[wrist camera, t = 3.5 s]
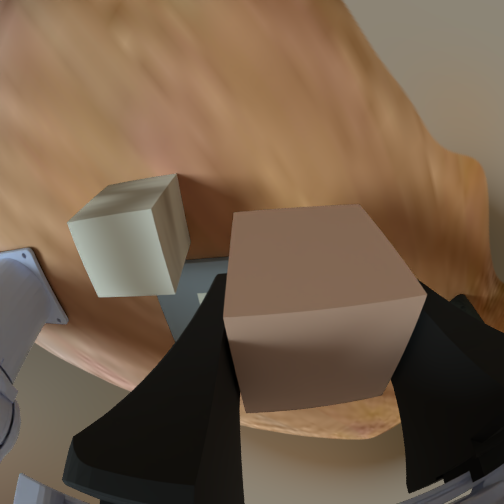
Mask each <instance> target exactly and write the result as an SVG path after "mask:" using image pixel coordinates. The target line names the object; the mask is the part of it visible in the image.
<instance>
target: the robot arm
mask: <svg viewBox="0 0 504 504" xmlns="http://www.w3.org/2000/svg"><path fill="white" fill-rule="evenodd" d="M417 280H418V279H417ZM226 281H227V273H222V274H217V275H216V276H215V278H214V280H213V282H212V284H211V286H210V288H209V290H208V292H207V294H206V296H205V297H204V299H203V301H202V303H201V304H200V306H199V308H198V309H197V311H196V313H195V314H194V316H193V317H192V319H191V321H190V322H189V324H188V325H187V327H186V328H185V329H184V331H183V332H182V334H181V335H180V337H179V338H178V340H177V341H176V342H175V344H174V345H173V346H172V348H171V349H170V350H169V351H168V353H167V354H166V355H165V356H164V357H163V359H162V360H161V361H160V362H159V363H158V365H157V366H156V367H155V368H154V369H153V370H152V371H151V372H150V373H149V374H148V375H147V377H146V378H145V379H144V380H143V381H142V382H141V383H140V384H139V385H138V386H137V387H136V388H135V389H134V390H133V391H132V392H130V393H129V394H128V395H127V396H126V397H125V398H124V399H123V400H121V401H120V402H119V403H118V404H117V405H116V406H115V407H113V408H112V409H111V410H110V411H109V412H108V413H106V414H105V415H104V416H102V417H101V418H99V419H98V420H97V421H95V422H94V423H92V424H91V425H90V426H88V427H87V428H85V429H84V430H82V431H81V432H80V433H78V434H76V435H75V436H73V439H72V442H71V445H70V448H69V451H68V456H67V460H66V464H65V469H64V473H63V478H62V480H63V482H64V483H65V484H66V485H67V486H69V487H72V488H74V489H76V490H78V491H80V492H83V493H85V494H88V495H90V496H93V497H95V498H98V499H100V504H244V493H243V492H244V491H243V478H242V463H241V443H240V413H239V408H240V388H239V384H238V380H237V376H236V371H235V367H234V363H233V359H232V355H231V350H230V346H229V342H228V337H227V333H226V328H225V324H224V319H223V313H224V302H225V291H226ZM418 282H419V283H420V284H421V286H422V287H423V289H424V290H425V292H426V293H427V297H426V299H425V302H424V305H423V308H422V310H421V313H420V315H419V318H418V320H417V323H416V325H415V328H414V330H413V332H412V335H411V337H410V339H409V342H408V344H407V346H406V348H405V351H404V353H403V355H402V357H401V359H400V361H399V363H398V365H397V367H396V369H395V371H394V373H393V375H392V377H391V381H392V384H393V388H394V391H395V395H396V400H397V404H398V408H399V413H400V418H401V424H402V430H403V437H404V444H405V455H406V475H407V476H406V484H407V489H408V493H412V492H415V491H417V490H420V489H422V488H424V487H427V486H429V485H431V484H433V483H436V482H438V481H440V480H442V479H444V483H445V484H443V485H441V486H439V487H437V488H435V489H432V490H430V491H428V492H426V493H423V494H421V495H418V496H416V497H414V498H411V499H408V500H406V501H403V502H400V503H398V504H444V503H446V502H448V501H450V500H452V499H453V498H455V497H457V496H459V495H461V494H463V493H464V492H466V491H468V490H469V489H471V488H472V491H471V493H470V494H469V495H467V496H464V497H462V498H460V499H458V500H455V501H454V502H451V503H449V504H504V333H503V332H501V331H498V330H496V329H494V328H492V327H490V326H488V325H487V324H485V323H483V322H481V321H479V320H477V319H476V318H474V317H472V316H471V315H469V314H467V313H466V312H464V311H462V310H461V309H459V308H458V307H456V306H455V305H453V304H452V303H450V302H449V301H447V300H446V299H444V298H443V297H441V296H440V295H439V294H437V293H436V292H434V291H433V290H432V289H430V288H429V287H427V286H426V285H425V284H423V283H422V282H421V281H419V280H418ZM68 321H69V320H68V317H67V316H66V314H65V312H64V311H63V309H62V307H61V305H60V304H59V302H58V300H57V298H56V296H55V295H54V293H53V291H52V289H51V287H50V285H49V283H48V281H47V279H46V277H45V275H44V273H43V271H42V269H41V267H40V265H39V263H38V261H37V259H36V257H35V254H34V252H33V250H32V249H30V248H22V249H16V250H10V251H4V252H0V463H1V461H2V459H3V458H4V457H5V455H6V454H7V453H9V452H10V451H11V449H12V448H13V446H14V445H15V443H16V440H17V438H18V435H19V431H20V424H21V418H20V409H19V405H18V403H17V401H16V400H15V398H16V395H17V393H18V390H17V389H16V388H15V387H14V386H13V383H14V381H15V379H16V377H17V375H18V373H19V371H20V368H21V367H22V365H23V363H24V361H25V359H26V357H27V355H28V353H29V351H30V349H31V347H32V345H33V343H34V342H35V340H36V338H37V336H38V335H39V333H40V331H41V329H42V328H43V326H44V324H45V323H52V324H67V323H68ZM13 504H90V503H87V502H84V501H81V500H79V499H76V498H74V497H71V496H69V495H66V494H63V493H62V492H59V491H57V490H55V489H53V488H50V487H48V486H46V485H44V484H42V483H40V482H38V481H36V480H34V479H32V478H30V477H28V476H27V475H25V474H23V473H20V474H19V479H18V483H17V488H16V493H15V498H14V503H13Z"/></svg>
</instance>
